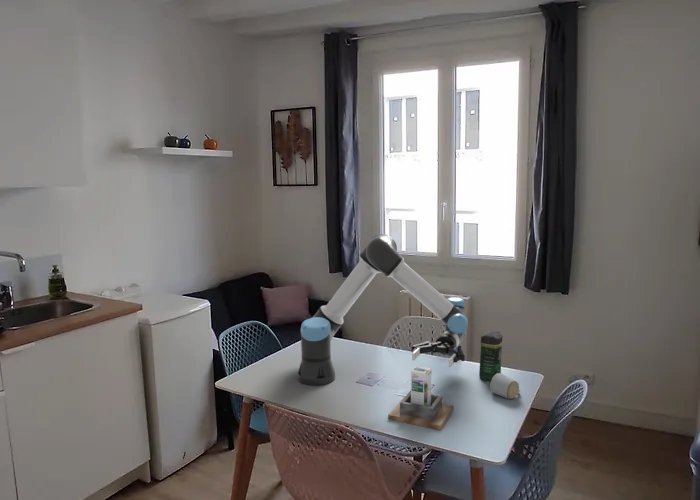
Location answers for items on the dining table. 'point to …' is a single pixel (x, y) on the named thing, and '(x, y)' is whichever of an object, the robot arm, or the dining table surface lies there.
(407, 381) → the dining table surface
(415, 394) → the syrup box
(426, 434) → the dining table surface
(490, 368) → the coffee jar
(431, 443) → the dining table surface
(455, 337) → the robot arm
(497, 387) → the ceramic mug
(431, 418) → the socket board
